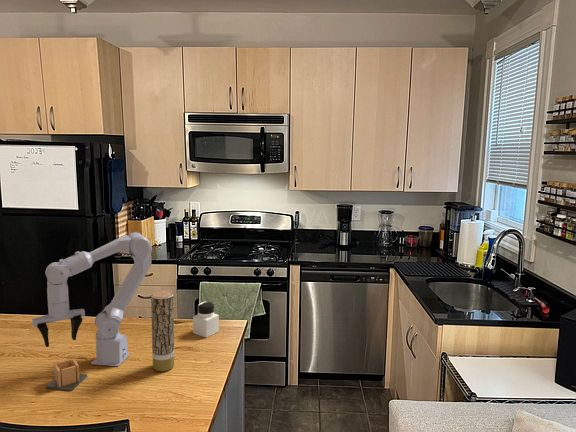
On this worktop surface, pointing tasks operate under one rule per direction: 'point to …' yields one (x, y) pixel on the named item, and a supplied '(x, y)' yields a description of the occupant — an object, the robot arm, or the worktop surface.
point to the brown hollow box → (66, 372)
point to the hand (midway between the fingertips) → (60, 342)
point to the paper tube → (162, 330)
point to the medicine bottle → (205, 320)
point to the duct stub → (67, 387)
